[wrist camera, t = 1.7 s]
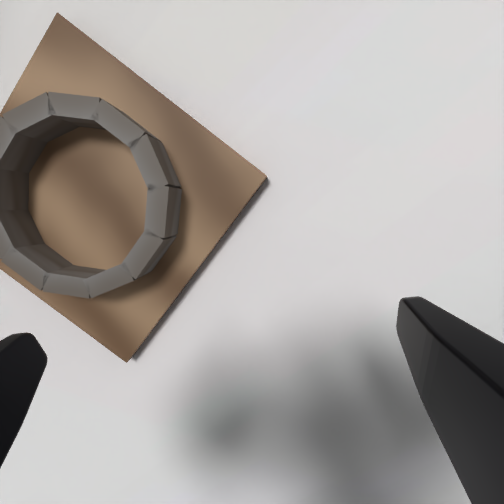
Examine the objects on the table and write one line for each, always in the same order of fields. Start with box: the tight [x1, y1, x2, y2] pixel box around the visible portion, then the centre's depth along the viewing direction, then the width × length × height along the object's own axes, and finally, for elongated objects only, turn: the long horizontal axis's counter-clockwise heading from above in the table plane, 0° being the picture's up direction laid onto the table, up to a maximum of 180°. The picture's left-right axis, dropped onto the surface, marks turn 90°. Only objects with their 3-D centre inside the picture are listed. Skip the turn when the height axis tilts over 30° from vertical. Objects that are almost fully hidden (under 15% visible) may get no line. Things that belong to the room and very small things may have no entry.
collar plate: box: [0, 13, 267, 363], centre depth 20 cm, size 16×16×4 cm
